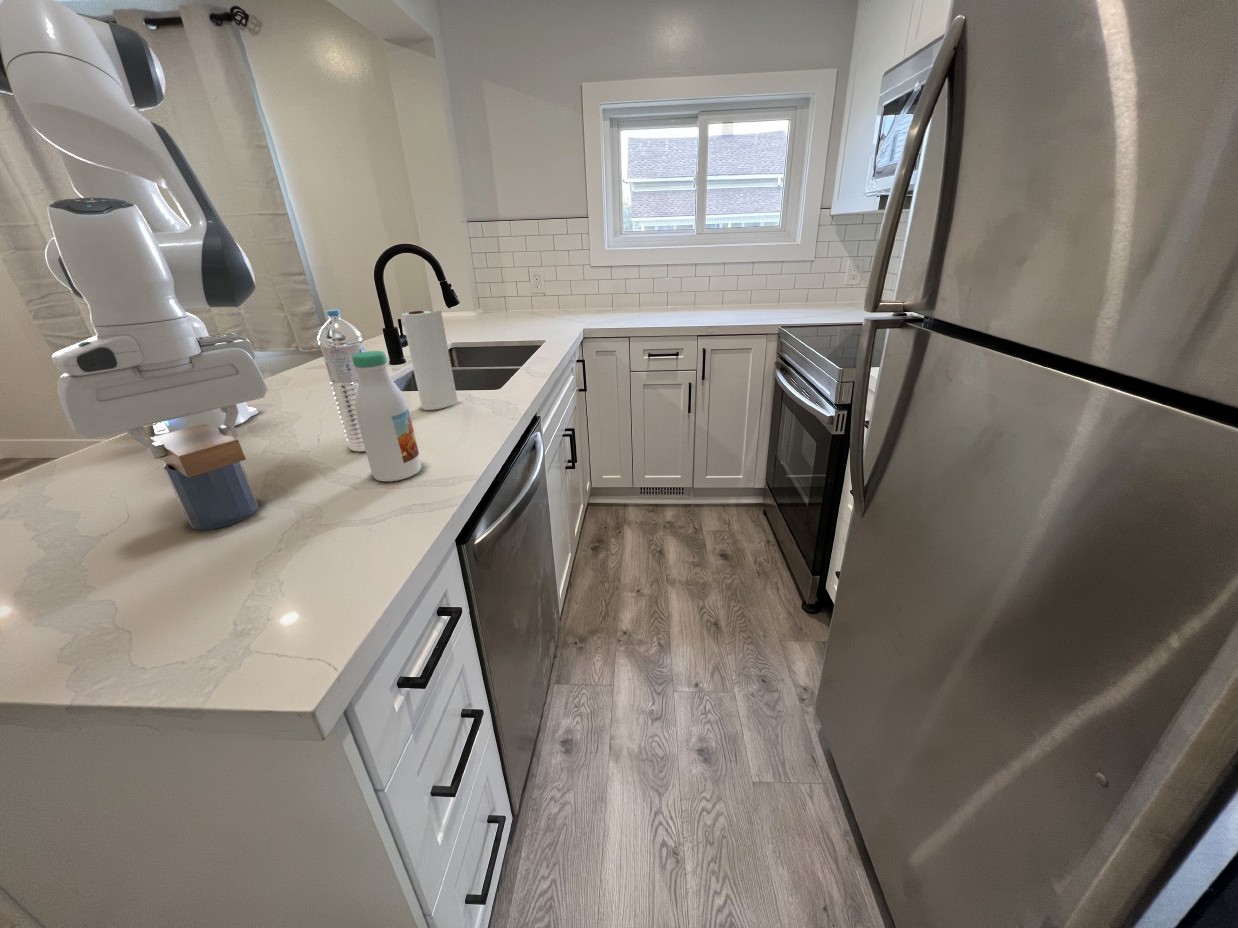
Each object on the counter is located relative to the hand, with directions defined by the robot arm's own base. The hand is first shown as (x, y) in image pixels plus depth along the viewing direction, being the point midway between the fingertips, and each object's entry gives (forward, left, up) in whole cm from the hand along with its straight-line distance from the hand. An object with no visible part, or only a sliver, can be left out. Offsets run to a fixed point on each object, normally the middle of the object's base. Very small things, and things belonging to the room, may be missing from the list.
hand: (196, 446), depth 68 cm
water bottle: (-7, +26, -11) cm, 29 cm away
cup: (0, 0, -11) cm, 11 cm away
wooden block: (0, 0, -2) cm, 2 cm away
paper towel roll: (-16, +48, -11) cm, 52 cm away
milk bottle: (+9, +22, -11) cm, 26 cm away
